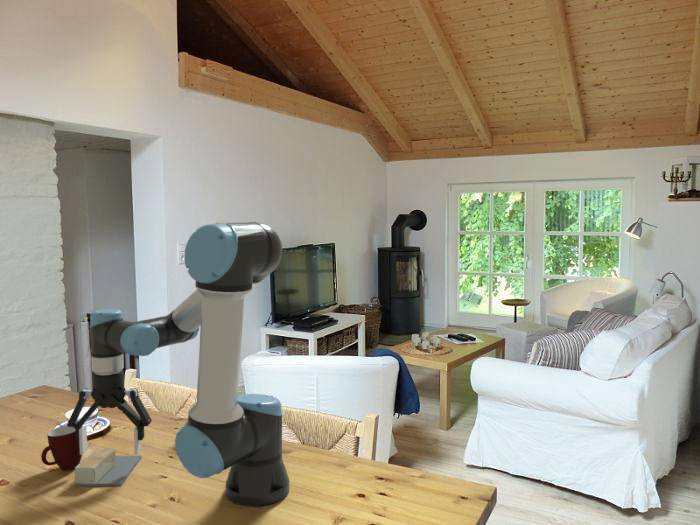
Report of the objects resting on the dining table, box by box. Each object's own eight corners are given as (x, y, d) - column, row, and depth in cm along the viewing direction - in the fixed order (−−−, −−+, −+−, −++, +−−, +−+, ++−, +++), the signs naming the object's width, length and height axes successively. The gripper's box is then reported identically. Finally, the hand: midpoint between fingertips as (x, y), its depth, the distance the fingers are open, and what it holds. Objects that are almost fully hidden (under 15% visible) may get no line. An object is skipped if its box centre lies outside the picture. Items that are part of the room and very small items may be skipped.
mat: (141, 457, 158) (141, 455, 157) (121, 485, 142) (120, 483, 142) (100, 458, 157) (100, 455, 157) (75, 486, 141) (74, 484, 141)
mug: (57, 480, 143) (51, 441, 142) (37, 476, 147) (30, 438, 146) (93, 462, 152) (88, 425, 152) (73, 458, 156) (68, 423, 155)
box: (115, 449, 151) (95, 467, 140) (116, 464, 152) (96, 485, 141) (95, 448, 151) (74, 467, 140) (96, 464, 152) (74, 484, 141)
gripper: (162, 366, 151) (164, 445, 153) (64, 367, 150) (67, 446, 152) (154, 374, 143) (156, 458, 145) (50, 375, 142) (54, 459, 144)
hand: (110, 452), depth 148 cm, fingers open, 13 cm apart
